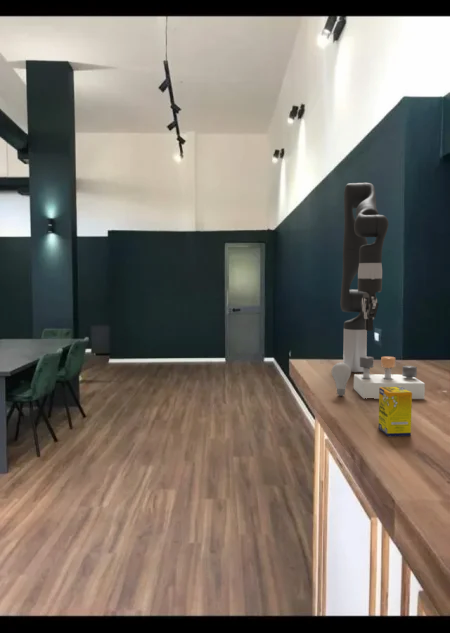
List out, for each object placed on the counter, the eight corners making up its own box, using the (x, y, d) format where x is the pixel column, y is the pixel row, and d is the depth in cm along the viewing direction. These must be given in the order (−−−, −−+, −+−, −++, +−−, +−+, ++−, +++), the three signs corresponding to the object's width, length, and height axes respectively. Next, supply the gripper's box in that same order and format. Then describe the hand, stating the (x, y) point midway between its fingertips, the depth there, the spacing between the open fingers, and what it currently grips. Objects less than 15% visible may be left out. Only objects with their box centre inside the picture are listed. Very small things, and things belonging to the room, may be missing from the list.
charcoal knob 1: (357, 381, 164) (358, 356, 163) (371, 381, 164) (371, 356, 163) (361, 384, 159) (361, 358, 159) (374, 384, 159) (375, 358, 158)
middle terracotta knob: (379, 381, 163) (379, 356, 163) (392, 381, 163) (393, 356, 163) (382, 384, 159) (383, 358, 158) (396, 384, 159) (397, 358, 158)
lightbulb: (351, 394, 160) (351, 361, 159) (349, 399, 154) (350, 364, 153) (332, 393, 162) (332, 360, 161) (330, 397, 156) (330, 363, 155)
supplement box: (377, 429, 124) (378, 386, 123) (400, 428, 124) (401, 386, 123) (387, 437, 118) (388, 392, 117) (411, 436, 118) (412, 391, 117)
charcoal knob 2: (400, 390, 163) (400, 365, 163) (413, 390, 163) (414, 365, 163) (404, 393, 159) (404, 368, 158) (418, 393, 159) (418, 368, 158)
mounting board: (353, 388, 169) (353, 374, 168) (409, 388, 168) (409, 374, 168) (363, 398, 155) (363, 383, 154) (424, 399, 154) (424, 383, 154)
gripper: (353, 277, 165) (352, 328, 167) (363, 277, 152) (362, 332, 154) (375, 277, 165) (374, 328, 166) (387, 277, 152) (386, 332, 153)
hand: (368, 330), depth 160 cm, fingers closed
